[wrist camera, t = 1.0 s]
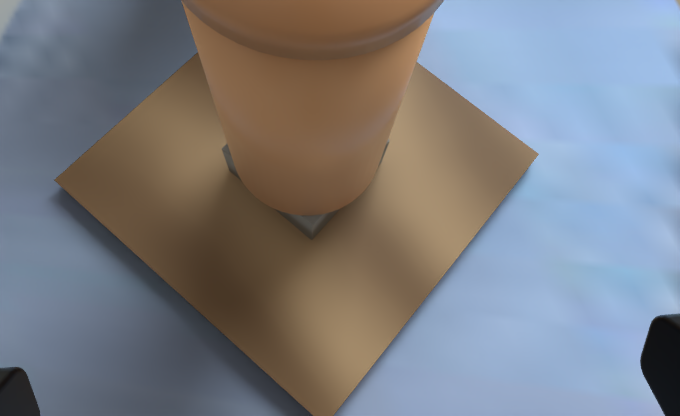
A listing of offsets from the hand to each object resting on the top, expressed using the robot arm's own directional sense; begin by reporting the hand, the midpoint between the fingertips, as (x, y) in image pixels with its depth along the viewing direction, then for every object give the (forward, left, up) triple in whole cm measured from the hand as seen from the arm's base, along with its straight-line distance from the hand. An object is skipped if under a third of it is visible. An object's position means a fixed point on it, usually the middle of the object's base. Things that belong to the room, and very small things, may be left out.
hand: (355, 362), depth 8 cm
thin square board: (+6, +6, -13) cm, 15 cm away
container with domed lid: (+6, +6, -10) cm, 13 cm away
